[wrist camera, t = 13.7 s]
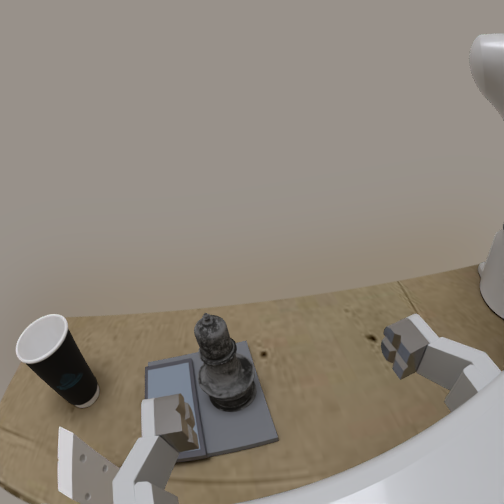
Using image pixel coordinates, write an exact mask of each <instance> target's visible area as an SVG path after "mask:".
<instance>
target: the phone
mask: <svg viewBox="0 0 504 504" xmlns="http://www.w3.org/2000/svg"><path fill="white" fill-rule="evenodd" d="M179 393H181V394H182V396H183V397H184V402H186V403H188V404H189V405H190V407H191V409H192V412H193V415H194V419H195V426H194V428H193V430H194V431H195V432H196V434H197V438H198V444H199V449H195V450H190V451H184V452H178V453H179V455H178V458H177V460H176V462H184V461H191V460H198V459H204V458H208V454H207V448H206V443H205V437H204V431H203V425H202V419H201V413H200V407H199V400H198V394H197V387H196V379H195V372H194V364H193V361H192V358H188V359H183V360H179V361H174V362H169V363H164V364H158V365H153V366H148V367H145V399H151V398H157V397H163V396H169V395H174V394H179Z"/></svg>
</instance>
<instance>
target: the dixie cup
mask: <svg viewBox="0 0 504 504" xmlns="http://www.w3.org/2000/svg"><path fill="white" fill-rule="evenodd" d="M16 354H17V357H18V359H19V360H20V361H22V362H23V363H26V364H27V365H28V366H29V367H30V368H31V369H32V370H33V371H34V372H35V373H36V374H37V375H38V376H39V377H40V378H41V379H42V380H44V381H45V382H46V383H47V384H48V385H49V386H50V387H51V388H52V389H54V390H55V391H56V392H57V393H58V394H59V395H61V396H62V397H63V398H64V399H65V400H67V401H68V402H69V403H71V404H73V405H75V406H77V407H79V408H85V407H88V406H90V405H92V404H93V403H94V402H95V401H96V399H97V398H98V396H99V386H98V384H97V380H96V378H95V377H94V375H93V373H92V372H91V370H90V368H89V366H88V365H87V363H86V361H85V359H84V358H83V356H82V354H81V352H80V350H79V348H78V347H77V345H76V343H75V341H74V339H73V337H72V335H71V333H70V331H69V329H68V323H67V320H66V319H65V318H64V317H63V316H61V315H57V314H51V315H46V316H43V317H41V318H39V319H38V320H36V321H35V322H33V323H31V324H30V325H29V326H28V327H27V328H26V329H25V330H24V331H23V333H22V334H21V336H20V338H19V339H18V342H17V345H16Z"/></svg>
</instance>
